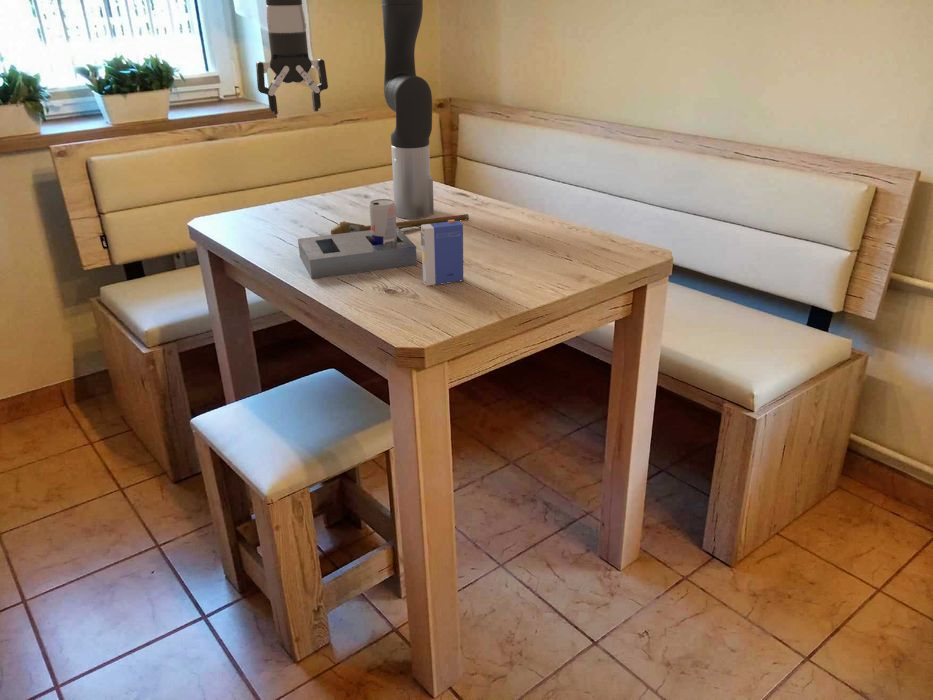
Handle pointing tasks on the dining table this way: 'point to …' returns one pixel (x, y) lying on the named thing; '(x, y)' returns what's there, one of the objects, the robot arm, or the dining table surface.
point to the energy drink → (383, 221)
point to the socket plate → (353, 253)
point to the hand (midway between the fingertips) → (295, 112)
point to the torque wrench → (352, 227)
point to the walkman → (442, 252)
